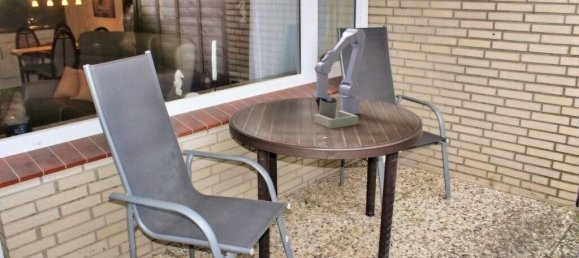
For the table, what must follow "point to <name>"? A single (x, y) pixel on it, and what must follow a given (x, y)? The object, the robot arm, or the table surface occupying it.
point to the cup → (328, 108)
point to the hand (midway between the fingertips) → (321, 112)
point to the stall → (337, 120)
